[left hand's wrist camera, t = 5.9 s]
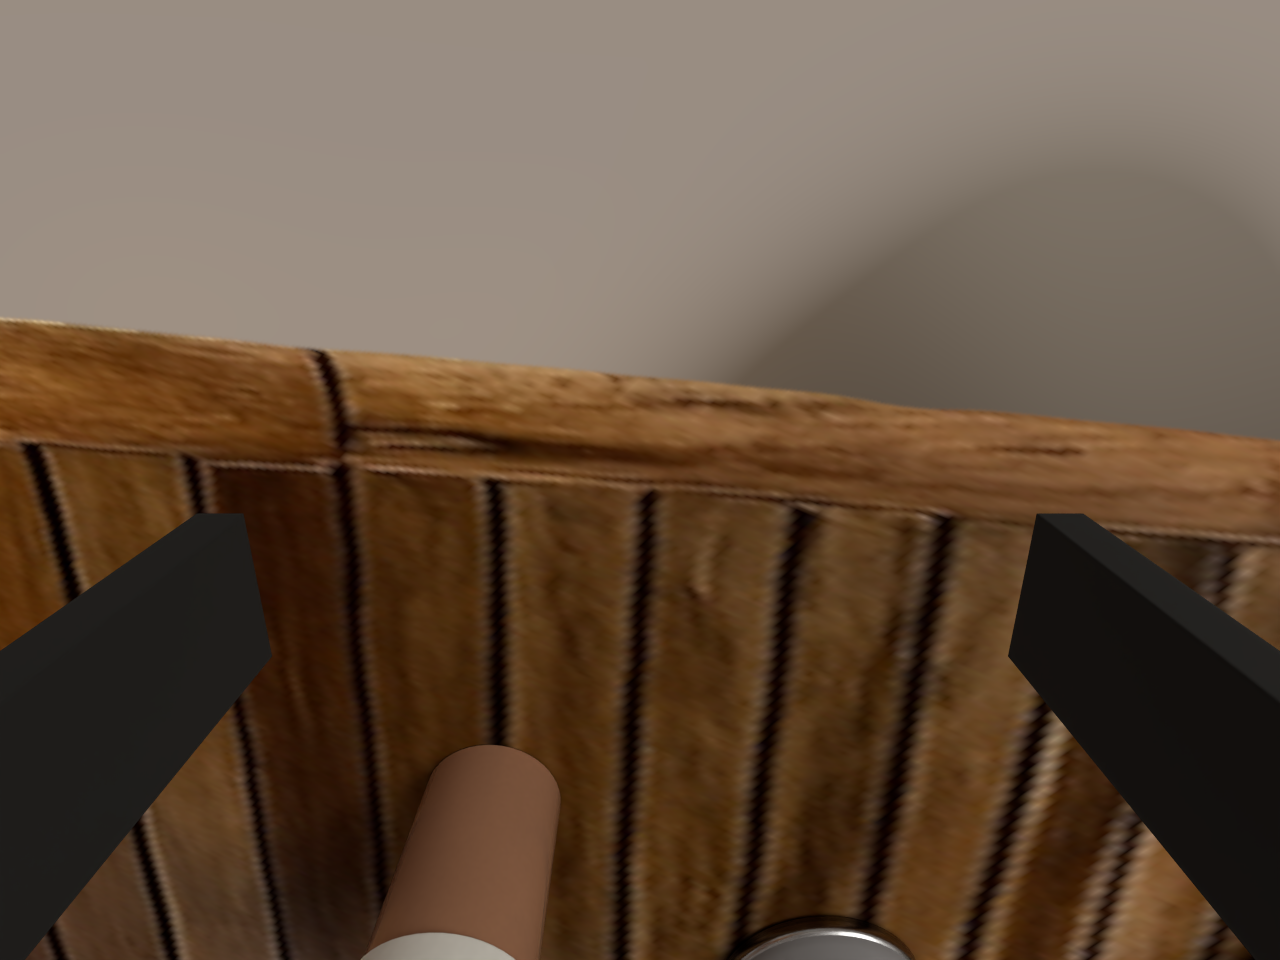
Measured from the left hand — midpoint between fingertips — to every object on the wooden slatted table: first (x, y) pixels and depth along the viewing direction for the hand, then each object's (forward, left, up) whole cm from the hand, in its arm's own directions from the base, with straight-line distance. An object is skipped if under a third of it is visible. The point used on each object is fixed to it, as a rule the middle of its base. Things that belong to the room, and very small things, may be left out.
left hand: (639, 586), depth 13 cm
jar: (-31, +10, -28) cm, 43 cm away
